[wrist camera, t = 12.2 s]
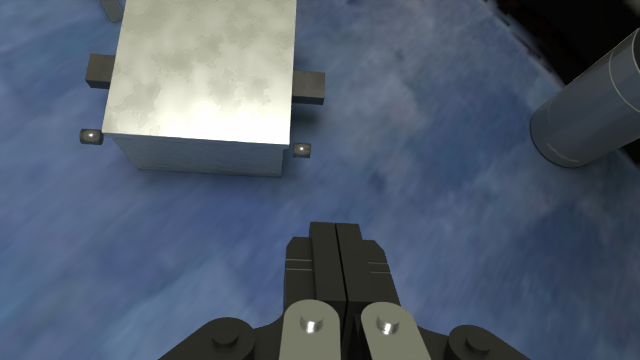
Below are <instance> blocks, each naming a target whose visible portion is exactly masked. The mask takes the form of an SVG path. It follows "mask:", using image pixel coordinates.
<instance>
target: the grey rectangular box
mask: <svg viewBox="0 0 640 360" xmlns="http://www.w3.org/2000/svg"><path fill="white" fill-rule="evenodd" d="M115 58H116V56H112V55H100V54H90V59H89V63H88V68H87V73H86V78H85V80H86V82H87V83H88V84H89V86H90V87H91V88H100V89H110V85H111V79H112V74H113V69H114V64H115ZM324 95H325V73H323V72H310V71H298V70H293V76H292V96H291V103H303V104H317V105H323V102H324ZM112 139H113V140H114V141H115V142H116V144H117V145H118V146H119V147H120V148H121V150H122V151H123V152H124V153H125V154H126V155H127V157H128V158H129V159H130V160H131V161H132V163H133V164H134V165H135V166H136V167H137V168H138V169H142V170H159V171H176V172H194V173H211V174H228V175H245V176H262V177H280V178H281V171H282V159H283V149H278V148H263V147H247V146H232V145H216V144H201V143H185V142H169V141H154V140H138V139H123V138H112ZM103 140H104V135H103V133H102V130H94V129H82V130H81V131H80V142H81V143H82V144H93V145H102V143H103ZM310 152H311V144H308V143H294V148H293V157H301V158H310Z"/></svg>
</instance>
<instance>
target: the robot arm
mask: <svg viewBox="0 0 640 360" xmlns="http://www.w3.org/2000/svg"><path fill="white" fill-rule="evenodd" d="M531 135H532V139H533V141H534V143H535V145H536V147H537V148H538V150H539V151H540V152H541V153H542V154H543V155H544V156H545V157H546V158H547V159H549V160H550V161H551V162H553V163H555V164H558V165H560V166H564V167H572V168H574V167H580V166H583V165H585V164H587V163H589V162H591V161H593V160H595V159H597V158H599V157H601V156H603V155H606V154H608V153H610V152H612V151H614V150H616V149H618V148H620V147H622V146H624V145H626V144H628V143H630V142H632V141H634V140H636V139H638V138H639V137H640V28H639V29H637V30H636V31H635V32H634V33H632V34H631V35H630V36H629V37H627V38H626V39H625V40H624V41H622V42H621V43H620V44H619V45H617V46H616V47H615V48H614V49H613V50H611V51H610V52H609V53H607V54H606V55H605V56H604V57H602V58H601V59H600V60H599V61H597V62H596V63H595V64H594V65H592V66H591V67H590V68H589V69H587V70H586V71H585V72H583V73H582V74H581V75H580V76H579V77H577V78H576V79H575V80H573V81H572V82H571V83H570V84H569V85H567V86H566V87H565V88H563V89H562V90H561V91H559V92H558V93H557V94H556V95H554V96H553V97H552V98H551V99H549V100H548V101H547V102H546V103H544V104H543V105H542V106H541V107H539V108H538V109H537V111H536V112H535V113H534V115H533V117H532V120H531ZM283 297H284V299H283V314H282V315H281V316H280V318H279V319H277V320H276V321H275V322H273V323H271V324H269V325H266V326H263V327H259V328H255V329H252V327H251V326H250V325H249V324H247V323H246V322H244V321H243V320H240V319H237V318H230V317H225V318H218V319H215V320H212V321H210V322H208V323H206V324H205V325H203V326H202V327H201V328H199V329H198V330H197V331H195V332H194V333H193V334H191V335H190V336H189V337H187V338H186V339H185V340H183V341H182V342H181V343H179V344H178V345H177V346H175V347H174V348H173V349H171V350H170V351H169V352H167V353H166V354H165V355H163V356H162V357H161V358H159V359H158V360H530V359H529V358H527V357H526V356H524V355H523V354H522V353H520V352H519V351H517V350H516V349H514V348H513V347H511V346H510V345H508V344H507V343H505V342H504V341H502V340H501V339H500V338H498V337H497V336H495V335H494V334H492V333H491V332H489V331H487V330H485V329H483V328H480V327H477V326H473V325H461V326H458V327H456V328H454V329H453V330H452V331H451V332H450V334H449V336H446V335H442V334H439V333H435V332H432V331H429V330H426V329H423V328H421V327H419V326H417V325H416V323H415V321H414V319H413V317H412V316H411V314H410V313H409V312H408V311H407V310H405V309H404V308H402V307H401V305H400V302H399V298H398V295H397V292H396V289H395V285H394V282H393V279H392V276H391V274H390V269H389V266H388V264H387V259H386V256H385V253H384V250H383V249H382V248H381V247H380V246H379V245H378V244H377V243H376V242H375V241H374V240H362V236H361V232H360V228H359V225H358V224H350V223H335V224H334V223H328V222H310V228H309V238H308V237H293V238H292V240H291V241H290V242H289V244H288V245H287V248H286V261H285V275H284V296H283Z"/></svg>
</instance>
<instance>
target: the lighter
mask: <svg viewBox="0 0 640 360" xmlns="http://www.w3.org/2000/svg"><path fill="white" fill-rule="evenodd" d="M100 1H101V3H102V5H103V7H104V9H105V11H106V13H107V14H108V16H109V18H110V20H111V22H113V23H114V22H117V21H120V20H123V16H124V14H123V12H122V9H121V7H120V5H119V3H118V1H117V0H100Z"/></svg>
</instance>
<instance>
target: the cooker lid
mask: <svg viewBox="0 0 640 360" xmlns="http://www.w3.org/2000/svg"><path fill="white" fill-rule="evenodd" d="M295 17H296V0H126V6H125V11H124V16H123V21H122V27H121V32H120V37H119V43H118V48H117V53H116V58H115V64H114V69H113V74H112V79H111V85H110V90H109V95H108V101H107V106H106V111H105V116H104V122H103V127H102V133H103V135H104V136H105V137H107V138H123V139H138V140H154V141H169V142H185V143H201V144H216V145H232V146H247V147H263V148H278V149H289V136H290V116H291V96H292V76H293V57H294V37H295Z"/></svg>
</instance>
